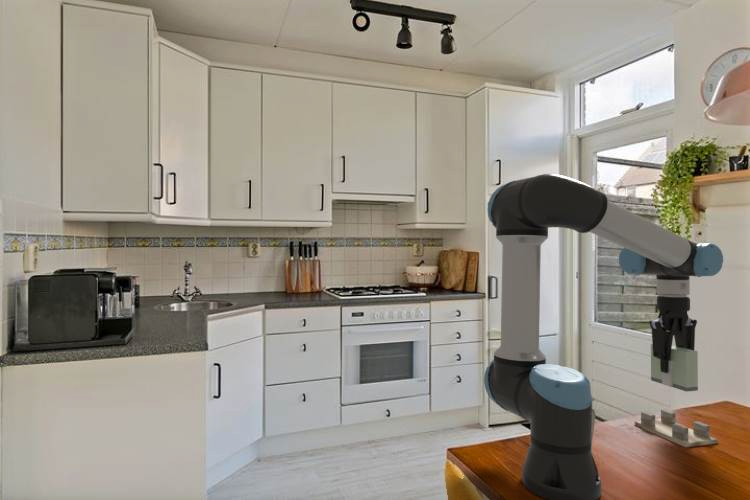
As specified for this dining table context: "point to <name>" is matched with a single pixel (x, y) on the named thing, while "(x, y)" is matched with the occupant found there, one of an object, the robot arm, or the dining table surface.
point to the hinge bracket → (676, 429)
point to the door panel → (679, 368)
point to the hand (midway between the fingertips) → (674, 384)
